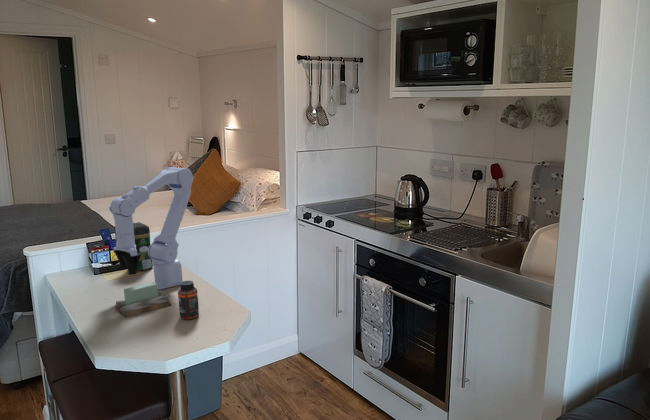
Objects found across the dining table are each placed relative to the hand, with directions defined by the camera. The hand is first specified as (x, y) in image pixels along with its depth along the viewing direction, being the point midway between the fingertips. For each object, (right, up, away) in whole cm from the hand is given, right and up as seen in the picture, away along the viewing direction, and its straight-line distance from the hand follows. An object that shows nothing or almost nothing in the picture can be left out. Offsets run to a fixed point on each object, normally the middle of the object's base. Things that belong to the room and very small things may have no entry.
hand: (128, 271), depth 180 cm
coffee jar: (-7, -3, +34) cm, 35 cm away
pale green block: (+7, -10, -7) cm, 14 cm away
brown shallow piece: (+7, -11, -6) cm, 14 cm away
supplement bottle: (+25, -13, -15) cm, 32 cm away
